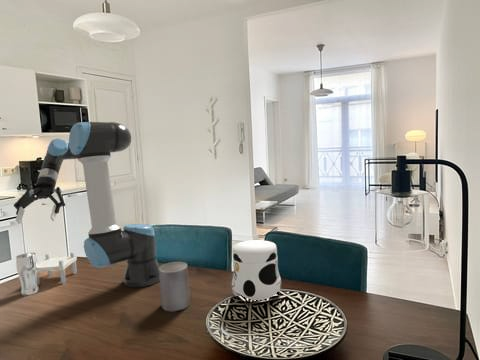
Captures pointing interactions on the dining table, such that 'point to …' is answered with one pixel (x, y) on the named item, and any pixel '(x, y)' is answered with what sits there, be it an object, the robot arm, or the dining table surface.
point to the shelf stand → (57, 265)
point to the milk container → (255, 270)
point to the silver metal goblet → (27, 272)
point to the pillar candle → (174, 286)
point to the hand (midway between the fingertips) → (35, 220)
